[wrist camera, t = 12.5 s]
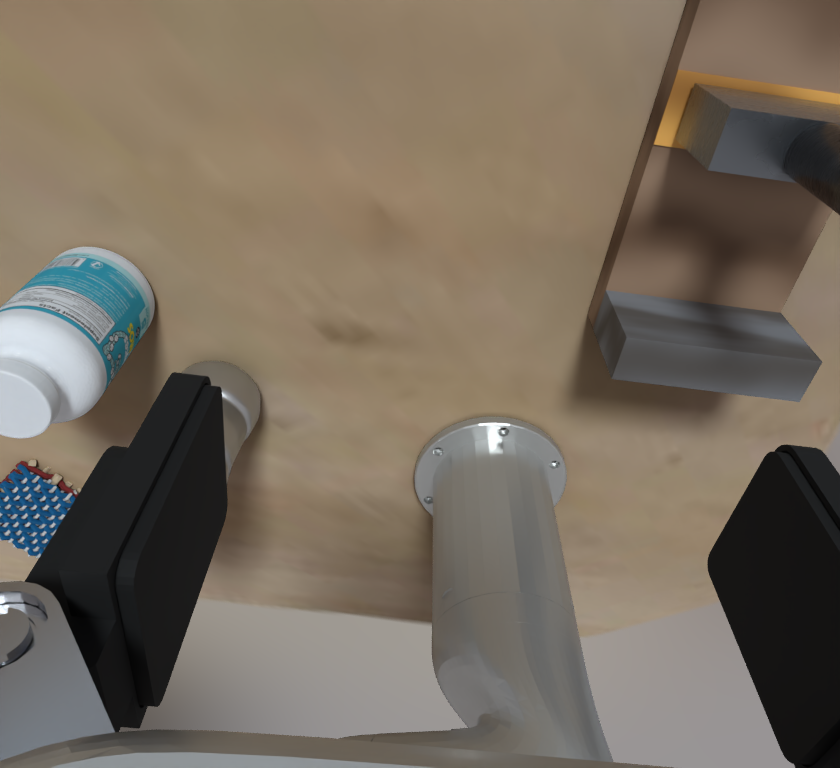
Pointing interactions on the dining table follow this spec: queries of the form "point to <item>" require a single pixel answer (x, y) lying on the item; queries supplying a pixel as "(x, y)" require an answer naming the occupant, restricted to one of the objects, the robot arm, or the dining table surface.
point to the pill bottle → (68, 337)
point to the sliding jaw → (765, 138)
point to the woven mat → (33, 506)
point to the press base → (718, 216)
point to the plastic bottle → (232, 403)
